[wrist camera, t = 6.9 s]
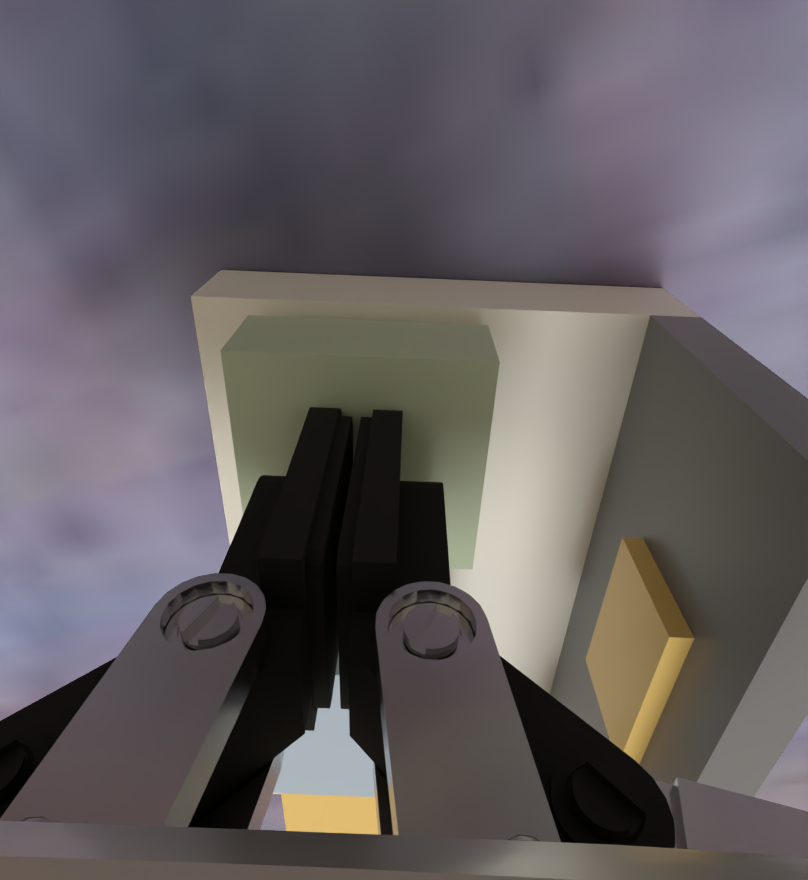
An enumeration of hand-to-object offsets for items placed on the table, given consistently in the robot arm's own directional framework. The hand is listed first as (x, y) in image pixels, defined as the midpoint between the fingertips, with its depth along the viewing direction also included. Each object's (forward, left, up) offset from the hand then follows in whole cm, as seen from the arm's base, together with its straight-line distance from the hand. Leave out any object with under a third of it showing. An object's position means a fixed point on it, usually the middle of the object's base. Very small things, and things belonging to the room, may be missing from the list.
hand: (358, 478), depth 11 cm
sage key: (0, 0, -2) cm, 2 cm away
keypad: (+6, +2, -4) cm, 8 cm away
